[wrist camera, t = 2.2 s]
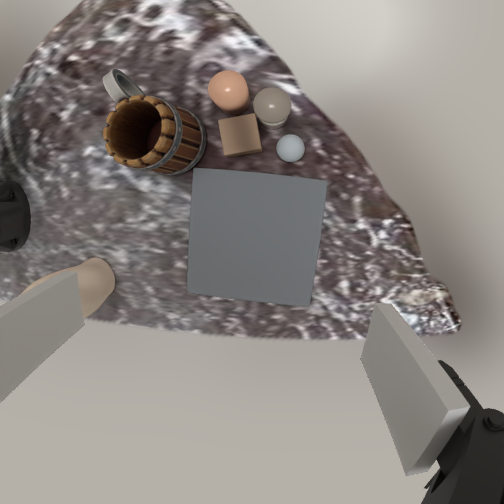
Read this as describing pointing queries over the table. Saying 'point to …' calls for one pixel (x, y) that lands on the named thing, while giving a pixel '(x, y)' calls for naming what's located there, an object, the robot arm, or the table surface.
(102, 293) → the cream corked bottle
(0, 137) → the table surface
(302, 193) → the slate pad
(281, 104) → the jar
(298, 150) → the grey ball
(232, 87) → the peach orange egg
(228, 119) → the walnut block
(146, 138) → the mug
